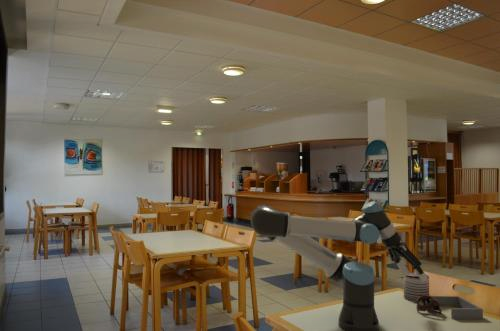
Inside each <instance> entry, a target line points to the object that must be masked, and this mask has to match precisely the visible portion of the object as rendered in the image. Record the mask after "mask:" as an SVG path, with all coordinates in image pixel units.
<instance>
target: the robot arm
mask: <svg viewBox="0 0 500 331" xmlns="http://www.w3.org/2000/svg"><path fill="white" fill-rule="evenodd" d="M361 211H362V213H361V214H359V216H357V217H355V218H354V219H352V220H350V221H348V220H340V219H328V218H320V217H311V216H310V217H307V216H298V215H291V214H290V213H289V212H284V211H279V210H276V209H275V208H274V207H273V206H271V205H269V204H267V205H266V204H261V205H258V206H257V207H255V208H254V209H253V211H252V212H251V214H250V224H251V226H252V227H251V228H252V229H253V231H254V232H255V233H256V234H258V235H259V236H262V237H265V238H267V239H268V240H270V241H271V242H276V241H278V242H280V243H281V244H283V245H284V246H286V247H288V248H289V249H290V250H292V251H293V252H295V253H297V254H298V255H300V256H301V257H302V258H304V259H305V260H307V261H309V262H310V263H312V264H313V265H315V266H316V267H318V268H319V269H321V270H322V271H324V273H325V277H327V278H328V279H329V280H331V281H333V282H334V283H336V284H337V285H338V286H340V287H341V288H342V301H343V302H342V307H341V310H340V313H339V316H338V321H337V322H338V323H337V324H338V327H340V328H341V329H343V330H345V331H379V329H380V322H379V319H378V318H379V317H378V315H377V312H376V310H375V278H376V277H375V270H374V269H373V268H374V267H373V266H371V265H370V264H368V263H364V262H362V261H361V262H360V261H355V260H353V259H351V258H349V257H347V256H346V255H344V254H342V253H341V252H338V253H335V252H333V251H331V250H330V249H329V248H327V247H326V246H324V245H323V244H321V243H320V242H318V241H316V240H315V239H314V238H320V239H327V240H330V239H331V240H337V241H338V240H339V241H348V242H349V243H353V242H361V243H364V244H369V245H373V244H374V243H376V242H377V241H378V240H379V239H380V241H381V242H382V243H383V245H384V247H385V248H386V250H387V252H388V254H389V257H390V260H391V262H394V264H396V266H397V267H398V269H399V271H400V272H401V273H402V275H403V277H404V276H407V275H408V274H409V273H410V271H409V270H408V267H407V266H406V265H405V262H404V261H402V258H403V259H404V260H405V261H407V263H409V264H410V265H411V266H412V269H413V270H414V273H417V275H418V277H419V278H420V280H421V281H422V282H424V281H425V280H427V279H428V278H427V276H426V274H427V273H425V271H424V270H423V268H422V267H421V265H422V264H423V263H422V262H421V260H419V259H418V258H417V257H416V255H415V254H414V253H413V252H412V251H411V250H410V248H408V246H407V245H406V244H401V241H402V237H401V235H400V234H399V232H398V231H397V230H396V227H395V226H394V223H392V222H391V220H390V218H389V217H388V215H387V214H386V212H385V211H384V209H383V207H382V206H381V205H380V203H379V202H378V201H376V200H372V201H370V202H367V203H366V204H365V205H363V207H362V208H361Z"/></svg>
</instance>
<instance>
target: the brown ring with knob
mask: <svg viewBox="0 0 500 331" xmlns="http://www.w3.org/2000/svg"><path fill="white" fill-rule="evenodd" d="M432 296H433V295H430V294H429V295H423V296H420V297H419V298H418V299H417V301H416V302H415V303H416V311H417V312H418V313H419V312H426V311H431V310H432V311H438V312H439V313H440V315H441V314H442V309H441V306H439V303H438V301H437V300H436V299H434V298H433V297H432ZM420 300H422V304H421V303H419V301H420Z"/></svg>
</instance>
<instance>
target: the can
mask: <svg viewBox="0 0 500 331" xmlns="http://www.w3.org/2000/svg"><path fill="white" fill-rule="evenodd" d="M425 274H426V276H427V278H428V279H427V280H425V281H424V282H422V281H421V280H420V278H419V277H418V275H417V273H416V272H409V274H408V275H407V276H404V275H403V298H404V300H406V301H409V302H413V303H417V302H416V301H417V299H418V298H419V297H420V296H423V295H430V274H427V273H425ZM421 303H422V304H423V302H422V300H420V301H419V304H421Z"/></svg>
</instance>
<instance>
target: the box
mask: <svg viewBox="0 0 500 331" xmlns="http://www.w3.org/2000/svg"><path fill="white" fill-rule="evenodd" d="M431 296H432V297H433V298H434V299H436V300H437V301H438V303H439V306H440V307H441V306H442V307H443V305H456V306H457V307H458V308H457V307H456V306H455V308H454V307H453V308H451V309H450V312H451V313H450V314H451V316H450V317H451V320H484V309H483V307H482V308H481V307H479V306H477V305H476V304H475V303H472V302H470V301H469V300H467V299H465V298H463V297H462V296H459V295H431ZM459 306H460V307H459ZM461 307H462V308H461Z"/></svg>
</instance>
